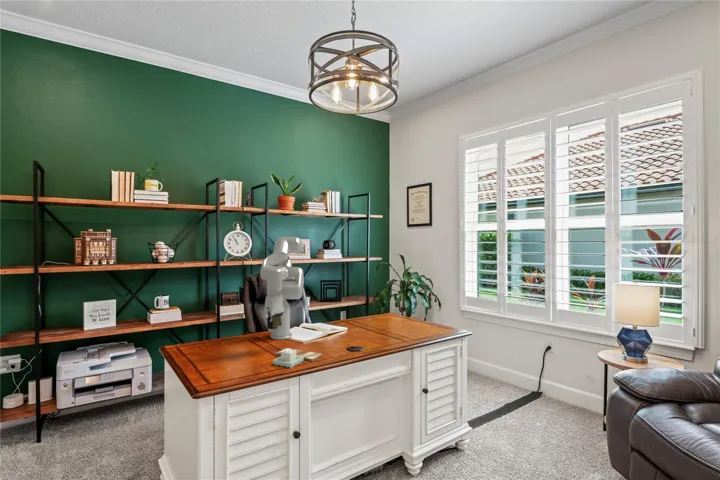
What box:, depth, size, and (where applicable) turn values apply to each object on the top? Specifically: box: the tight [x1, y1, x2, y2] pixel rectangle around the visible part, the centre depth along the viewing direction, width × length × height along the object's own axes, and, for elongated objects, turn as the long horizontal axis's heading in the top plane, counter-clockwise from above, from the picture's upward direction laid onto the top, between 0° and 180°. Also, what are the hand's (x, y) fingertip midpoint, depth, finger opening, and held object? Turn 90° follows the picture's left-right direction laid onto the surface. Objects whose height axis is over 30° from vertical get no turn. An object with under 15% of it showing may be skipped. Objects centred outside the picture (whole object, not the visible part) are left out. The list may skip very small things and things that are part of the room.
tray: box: [272, 356, 305, 369], centre depth 172 cm, size 10×10×2 cm
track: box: [275, 347, 323, 363], centre depth 183 cm, size 21×9×1 cm, turn 65°
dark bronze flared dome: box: [269, 314, 282, 330], centre depth 190 cm, size 8×7×8 cm
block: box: [280, 348, 297, 363], centre depth 173 cm, size 5×5×5 cm
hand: (274, 326), depth 190 cm, fingers closed on dark bronze flared dome, 6 cm apart
